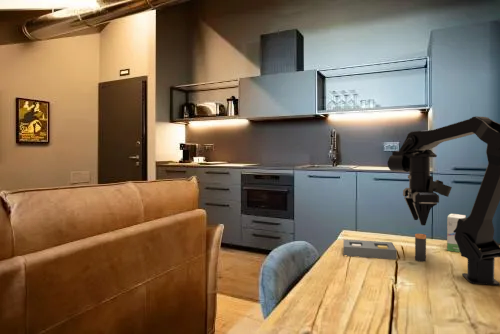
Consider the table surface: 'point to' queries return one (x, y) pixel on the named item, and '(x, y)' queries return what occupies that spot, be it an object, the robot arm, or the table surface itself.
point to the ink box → (451, 226)
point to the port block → (369, 249)
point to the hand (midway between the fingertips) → (419, 222)
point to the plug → (420, 247)
